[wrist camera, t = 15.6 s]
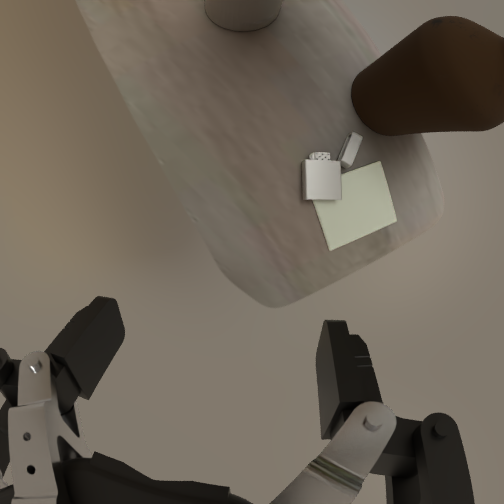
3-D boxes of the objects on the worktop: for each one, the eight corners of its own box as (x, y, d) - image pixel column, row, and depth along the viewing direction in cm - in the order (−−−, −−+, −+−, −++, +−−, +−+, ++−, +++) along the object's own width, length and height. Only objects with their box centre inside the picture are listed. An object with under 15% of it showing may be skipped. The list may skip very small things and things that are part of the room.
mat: (307, 186, 31) (308, 187, 31) (378, 160, 31) (380, 160, 31) (328, 249, 33) (330, 250, 33) (394, 220, 33) (396, 221, 33)
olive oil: (343, 129, 30) (527, 80, 6) (347, 54, 27) (482, -46, 3) (413, 150, 31) (582, 153, 7) (415, 80, 28) (559, 37, 4)
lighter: (305, 199, 29) (303, 126, 28) (302, 199, 31) (299, 130, 30) (366, 200, 29) (362, 131, 28) (360, 200, 31) (357, 134, 30)
